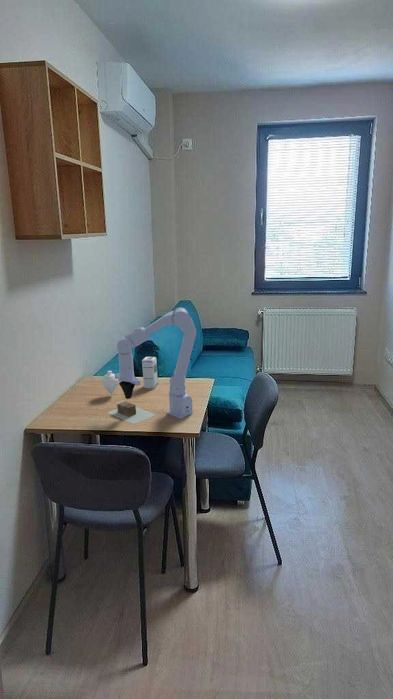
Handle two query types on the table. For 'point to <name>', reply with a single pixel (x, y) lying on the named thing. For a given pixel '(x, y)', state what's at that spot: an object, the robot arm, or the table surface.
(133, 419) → the sage mat
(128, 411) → the brown and white block
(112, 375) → the spinning top
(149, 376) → the syrup box
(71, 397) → the table surface
